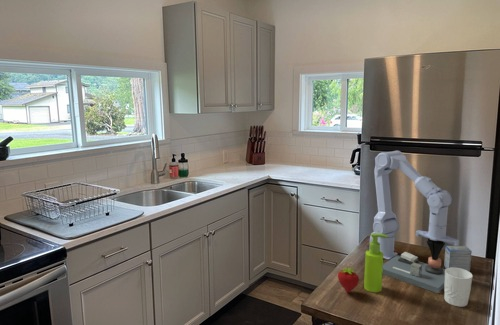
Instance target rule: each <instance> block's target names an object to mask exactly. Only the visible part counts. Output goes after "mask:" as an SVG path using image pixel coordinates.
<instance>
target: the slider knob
mask: <svg viewBox="0 0 500 325" xmlns="http://www.w3.org/2000/svg"><path fill="white" fill-rule="evenodd" d="M410 274H412V275H415V276H418V277H419V276H420V275H421V274H422V265H420V264H417V263H412V264H411V269H410Z"/></svg>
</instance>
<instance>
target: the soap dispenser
mask: <svg viewBox="0 0 500 325" xmlns="http://www.w3.org/2000/svg"><path fill="white" fill-rule="evenodd" d="M370 236H371V237H373V239H372V242H370V241H369V245H370V248H369V249H368V250H365V255H364V257H365V258H364V259H365V260H364V276H363V278H364V279H363V280H364V282H363V288H364V290H366V291H367V292H370V293H380V292H381V291H382V288H383V287H382V286H383V274H382V271H383V264H384V258H383V253H382V252H381V251H380V243H378V237H384V238H387V237H388V236H387V235H385V234H381V233H373V232H371V233H370Z"/></svg>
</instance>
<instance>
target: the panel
mask: <svg viewBox="0 0 500 325" xmlns="http://www.w3.org/2000/svg"><path fill="white" fill-rule="evenodd" d="M412 263H413V262H411V261H409V260H406V259H404V258H402V257H401V255H399V254H397V255H396V256H394V257H392V258H391V259H389V260H387V261H385V262H383V271H382V275H384V276H388V277H390V278H393V279H395V278H396V280H398V279H399V281H402V282H404V283H407V284H409V285H414V286H415V287H419V288H421V289H423V290H428V291H429V292H433V293H436V294H439V293H440V292H442V291H443V290H444V287H445V286H444V282H445V269H446V268H445V269H444V268H443V267H442V266H441V267H440V268H434V267H430V266H429V265H428V263H425V262H421V261H420V260H419V259H418V260H417V261H415V262H414V263H417V264H420V265H422V274H421V275H420V276H419V277H418V276H415V275H412V274H410V269H411V264H412Z"/></svg>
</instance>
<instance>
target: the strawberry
mask: <svg viewBox="0 0 500 325" xmlns="http://www.w3.org/2000/svg"><path fill="white" fill-rule="evenodd" d="M355 271H356V270H353V269H352V267H350V268H348V267H346V268H345V267H342V270H340V271H338V274H337V279H338V282H339V285H341V287H342V288H343V289H344V291H345V292H346V293H350V292H352V291H353V290H355V288H356V287H357V286H358V284H359V281H360V278H359V275H358V274H357V273H356V272H355Z"/></svg>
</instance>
